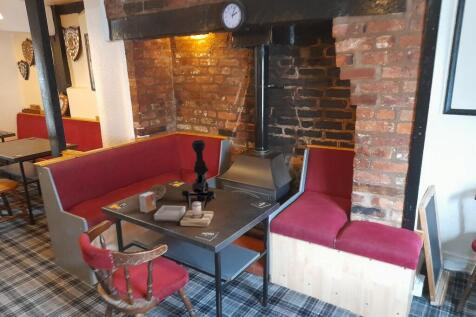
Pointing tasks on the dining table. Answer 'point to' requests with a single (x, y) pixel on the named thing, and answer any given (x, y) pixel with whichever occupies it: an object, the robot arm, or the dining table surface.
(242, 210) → the dining table surface
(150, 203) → the small box
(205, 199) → the robot arm
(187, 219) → the socket block
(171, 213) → the tray
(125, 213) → the dining table surface
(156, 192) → the pine cone
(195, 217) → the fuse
